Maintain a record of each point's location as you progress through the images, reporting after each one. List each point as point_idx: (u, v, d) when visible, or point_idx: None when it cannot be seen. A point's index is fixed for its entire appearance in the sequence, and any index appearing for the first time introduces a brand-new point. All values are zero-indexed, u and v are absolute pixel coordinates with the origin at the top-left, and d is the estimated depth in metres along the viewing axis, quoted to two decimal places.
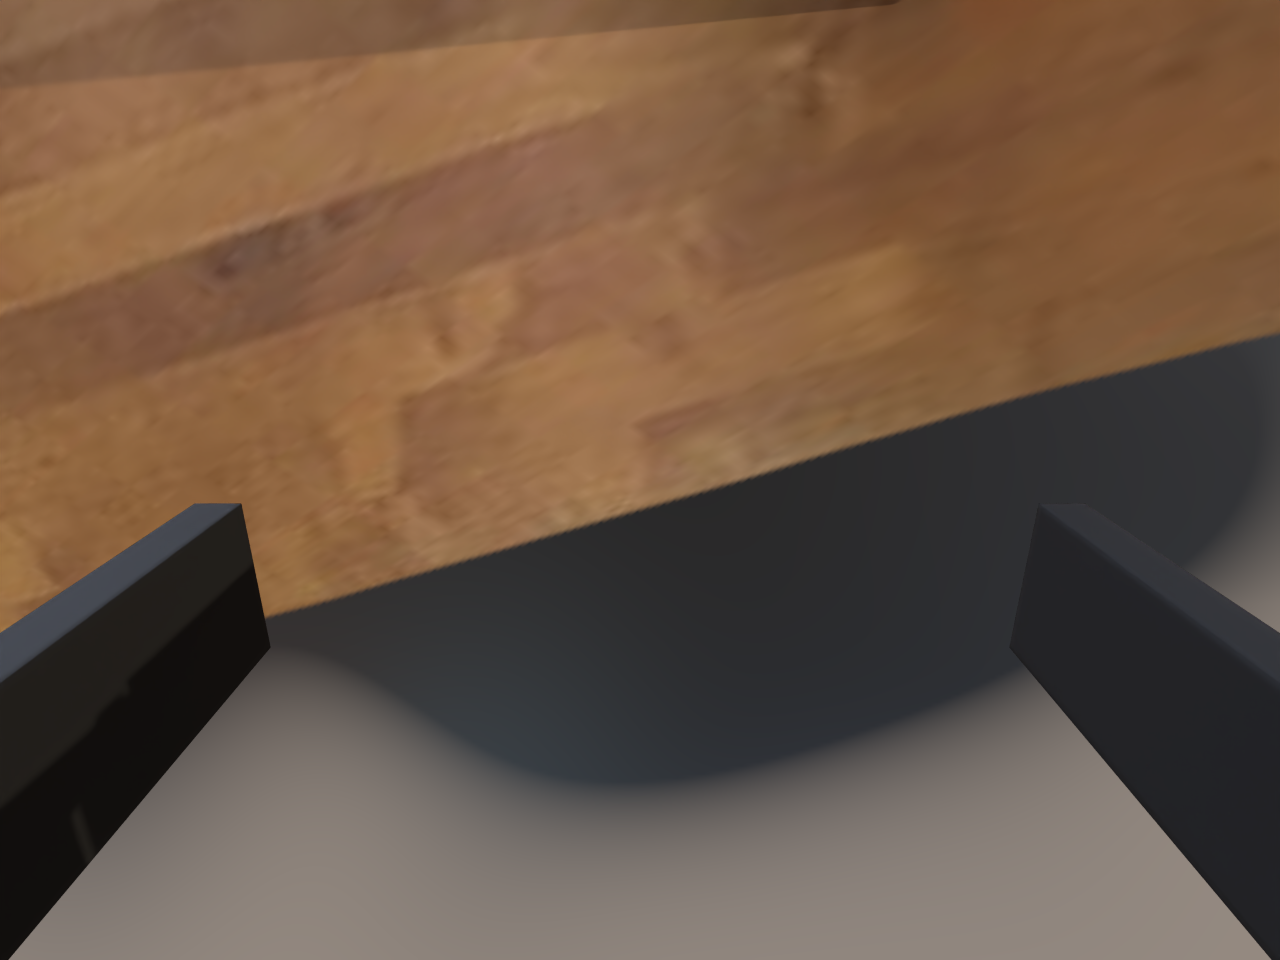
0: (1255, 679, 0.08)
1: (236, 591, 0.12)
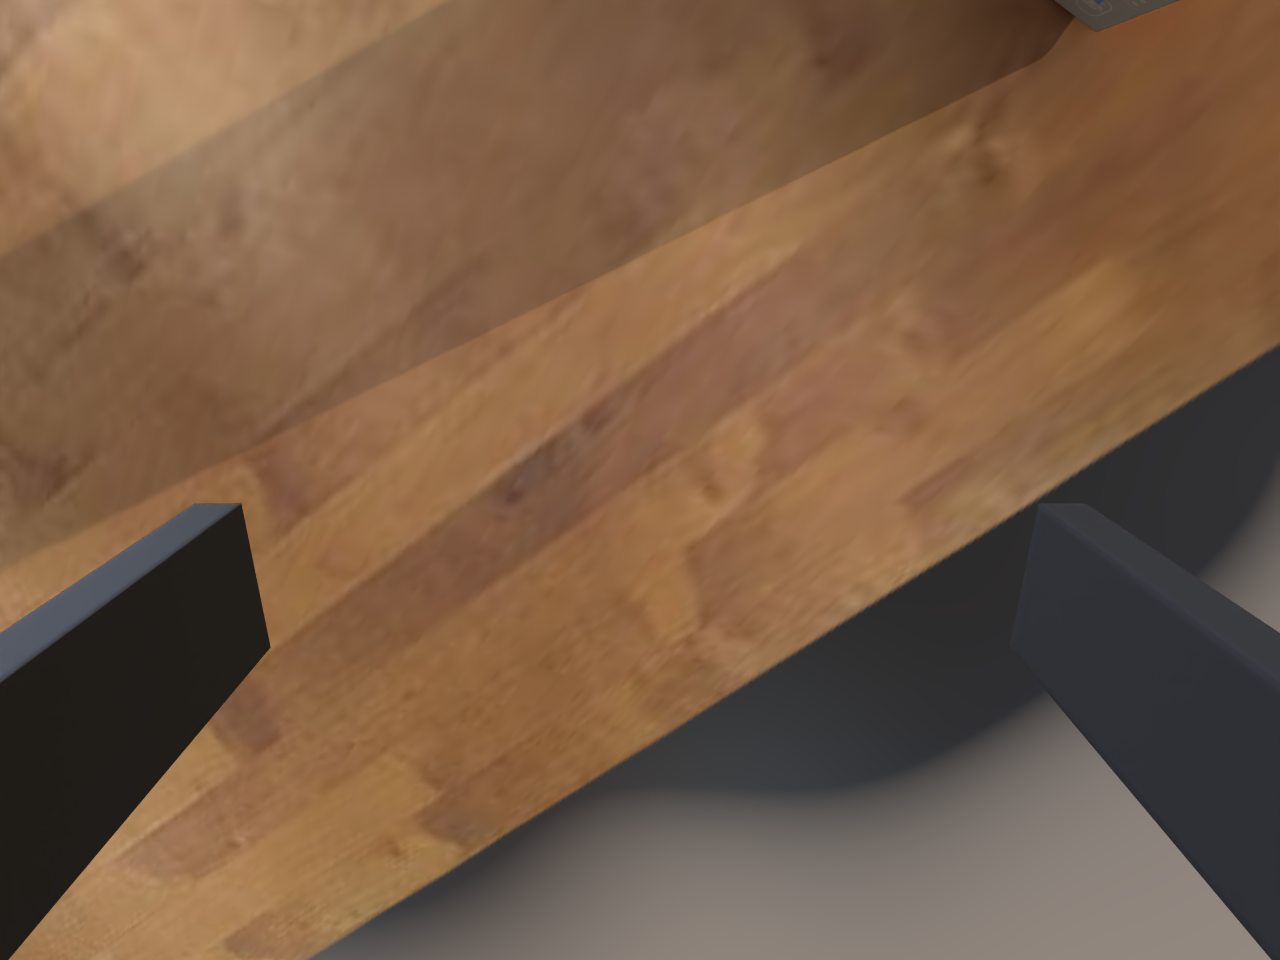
0: (1255, 679, 0.08)
1: (236, 591, 0.12)
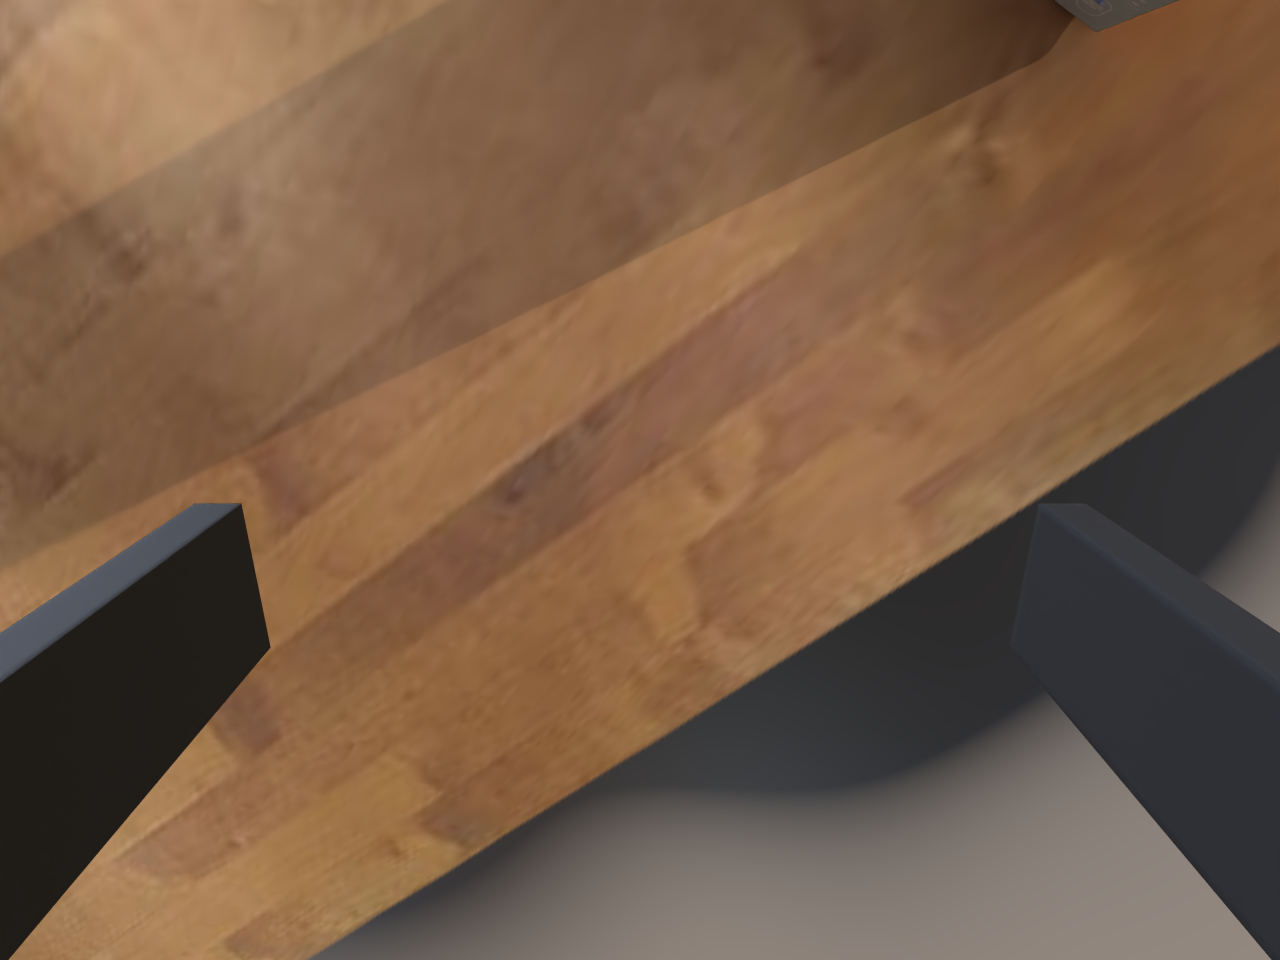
0: (1255, 679, 0.08)
1: (236, 591, 0.12)
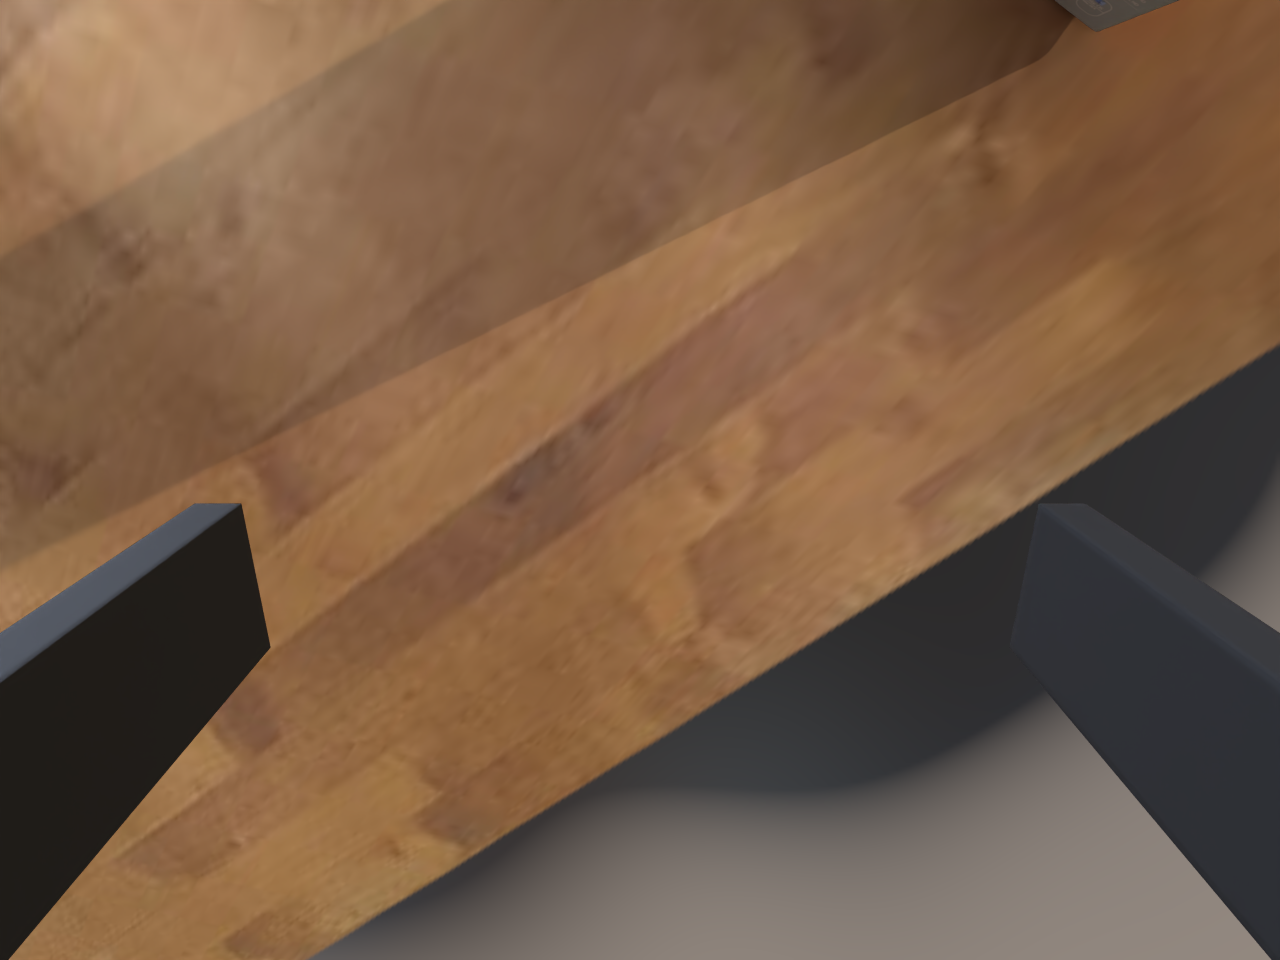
0: (1255, 679, 0.08)
1: (236, 591, 0.12)
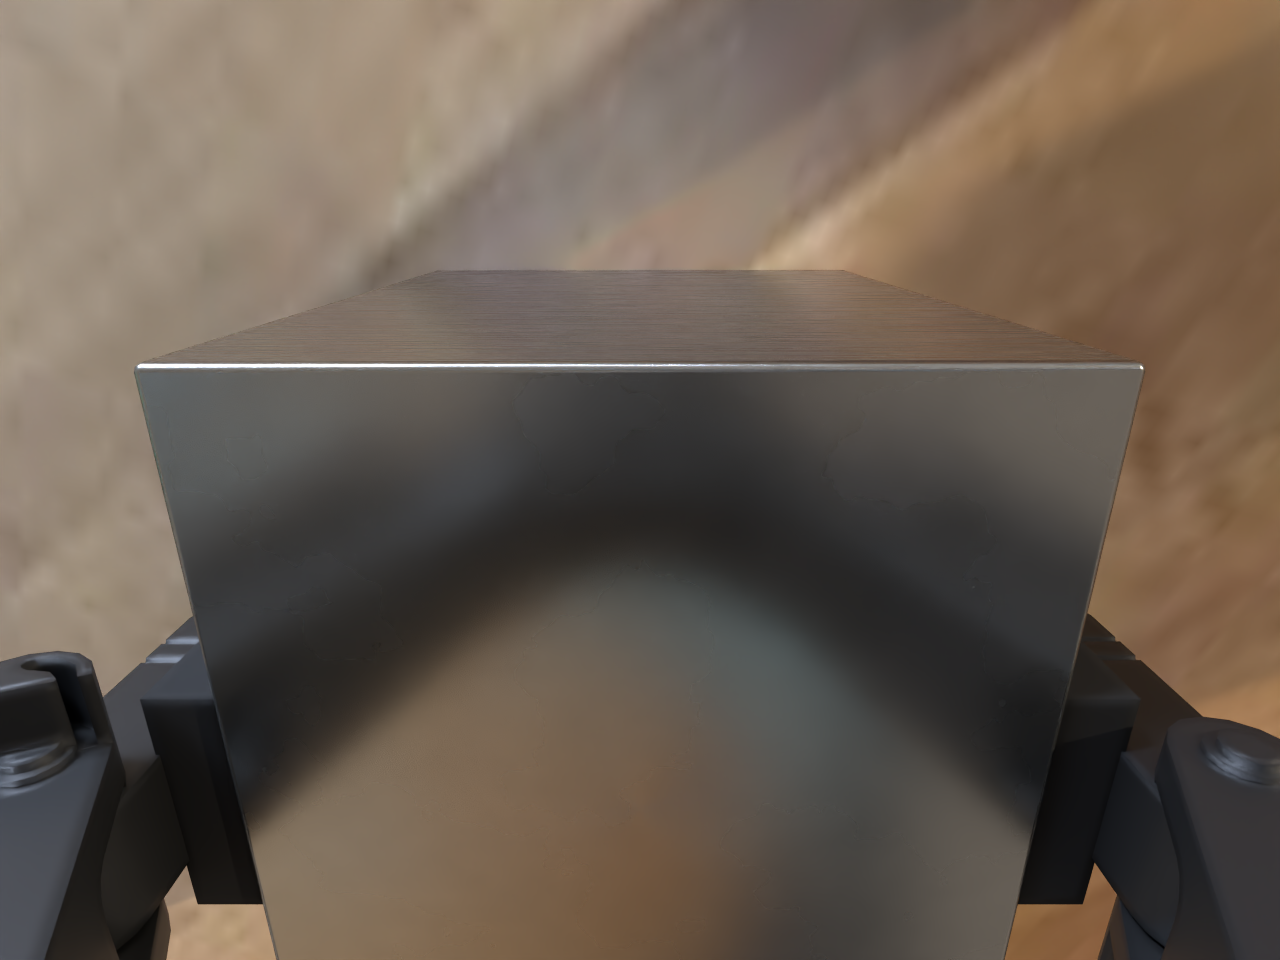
0: None
1: None
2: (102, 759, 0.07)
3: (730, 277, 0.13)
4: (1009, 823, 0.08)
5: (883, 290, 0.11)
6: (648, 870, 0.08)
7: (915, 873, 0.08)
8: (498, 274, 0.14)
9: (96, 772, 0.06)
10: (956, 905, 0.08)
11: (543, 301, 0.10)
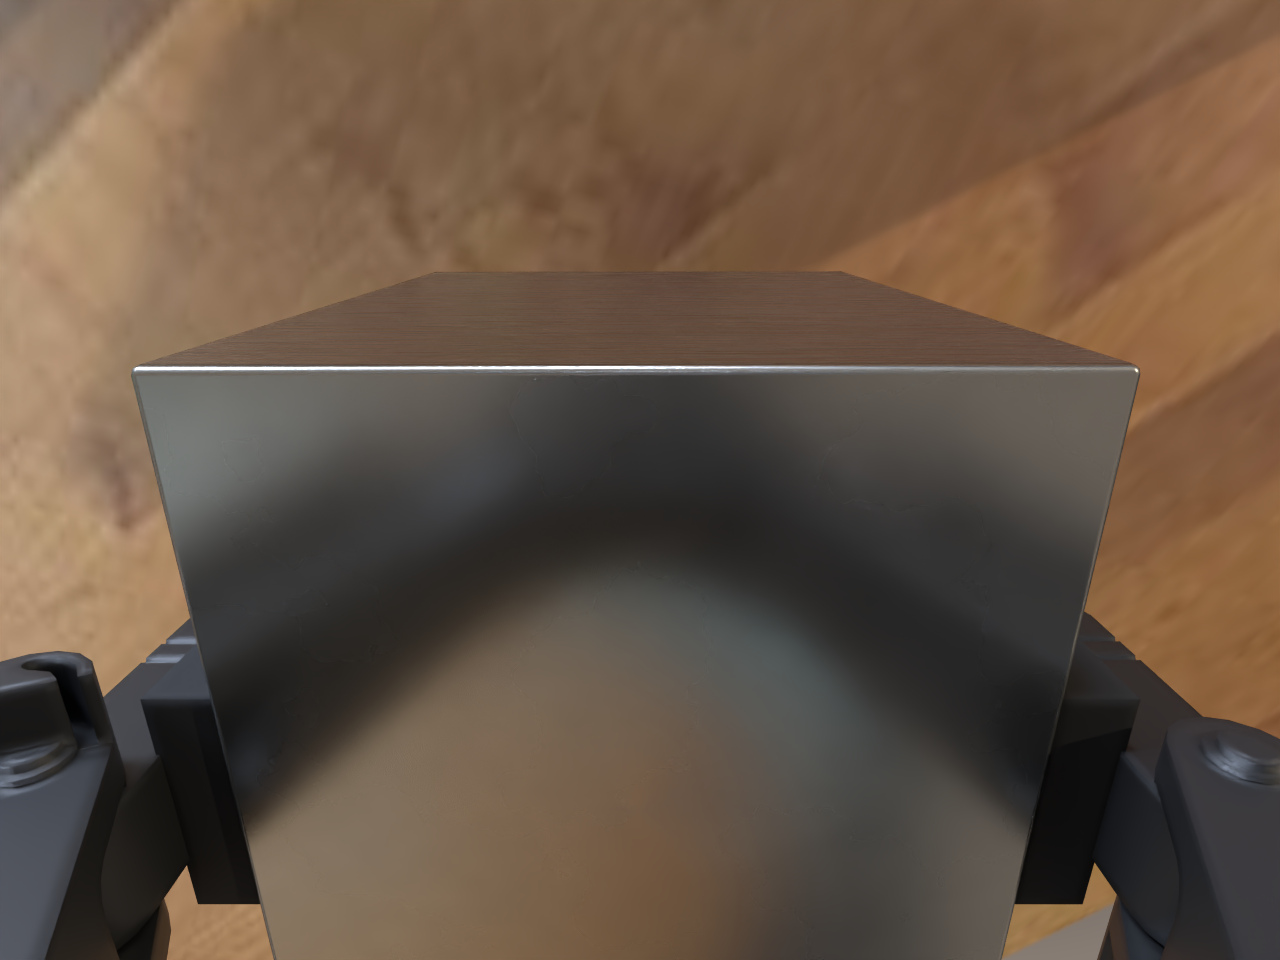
0: None
1: None
2: (103, 759, 0.07)
3: (728, 279, 0.13)
4: (1005, 825, 0.08)
5: (881, 292, 0.11)
6: (644, 871, 0.08)
7: (911, 876, 0.08)
8: (496, 275, 0.14)
9: (97, 772, 0.06)
10: (953, 906, 0.08)
11: (541, 303, 0.10)
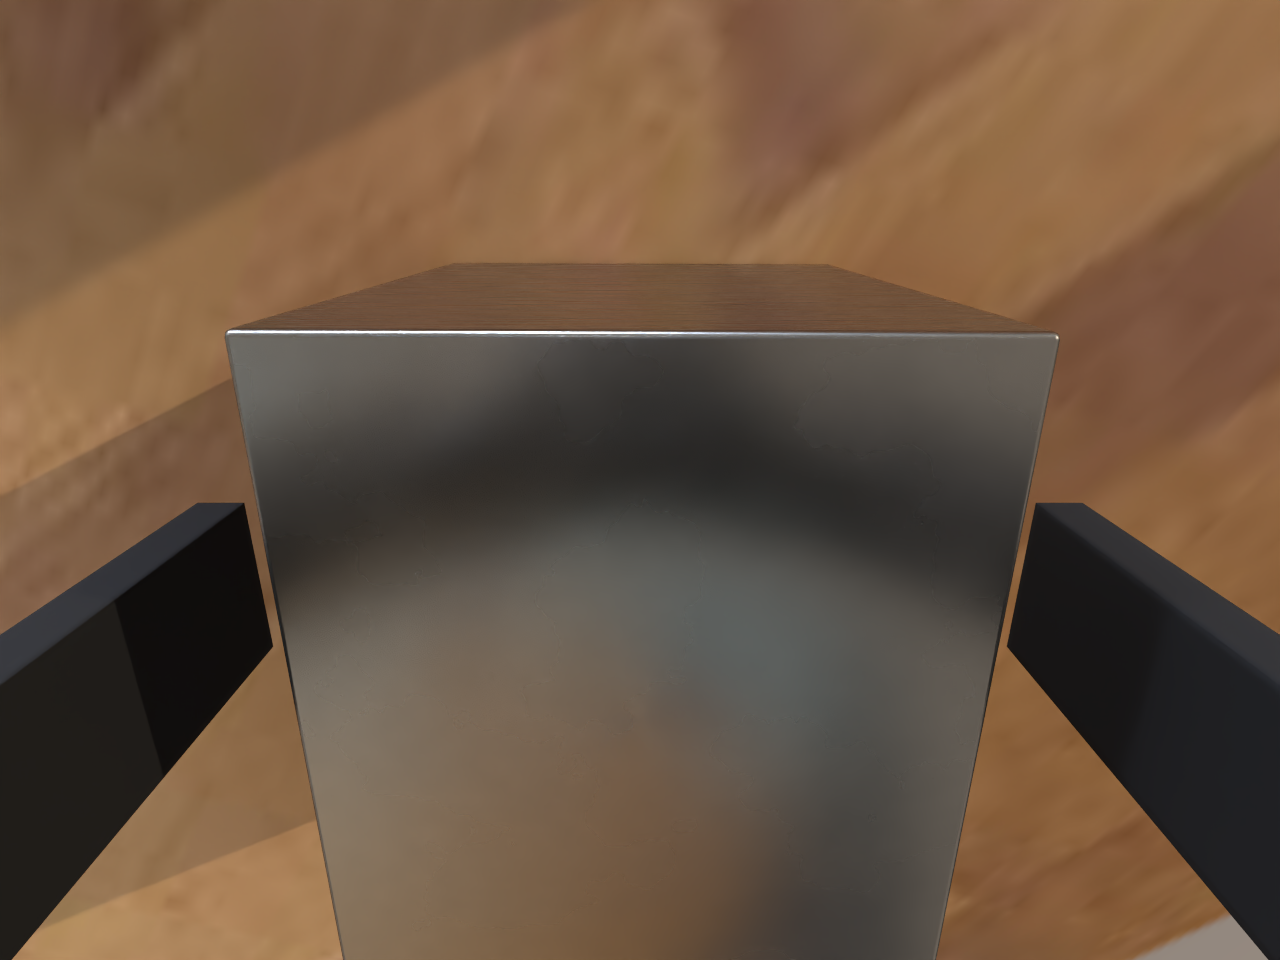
0: (1250, 678, 0.08)
1: (239, 590, 0.12)
2: None
3: (723, 269, 0.14)
4: (957, 733, 0.09)
5: (860, 280, 0.12)
6: (647, 774, 0.09)
7: (877, 779, 0.09)
8: (511, 266, 0.15)
9: None
10: (913, 808, 0.09)
11: (556, 287, 0.11)
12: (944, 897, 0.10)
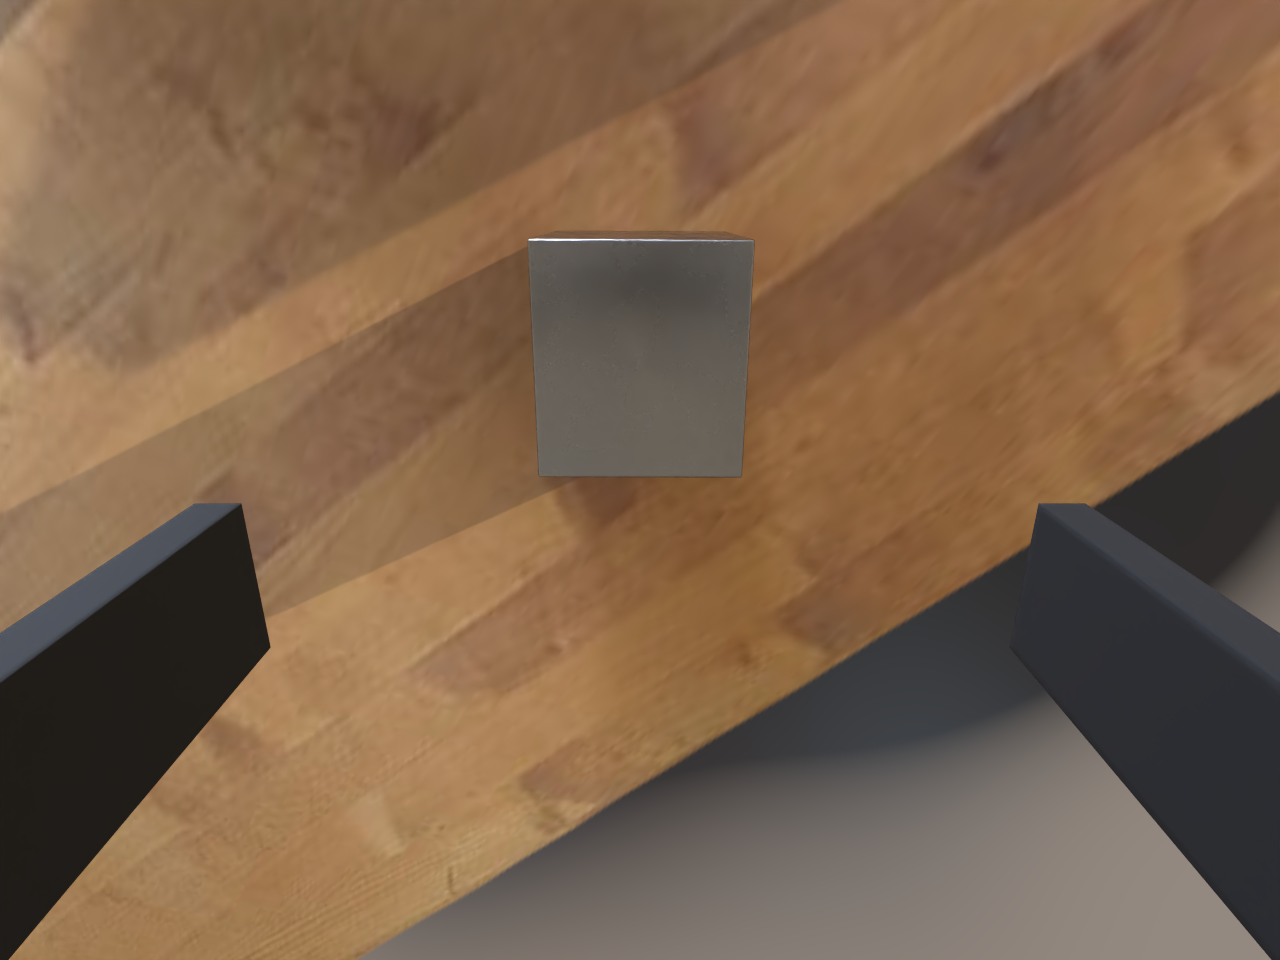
0: (1255, 679, 0.08)
1: (236, 591, 0.12)
2: None
3: (676, 232, 0.34)
4: (739, 370, 0.28)
5: (725, 234, 0.32)
6: (642, 386, 0.28)
7: (715, 388, 0.28)
8: None
9: None
10: (728, 399, 0.29)
11: None
12: (741, 436, 0.29)
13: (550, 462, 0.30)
